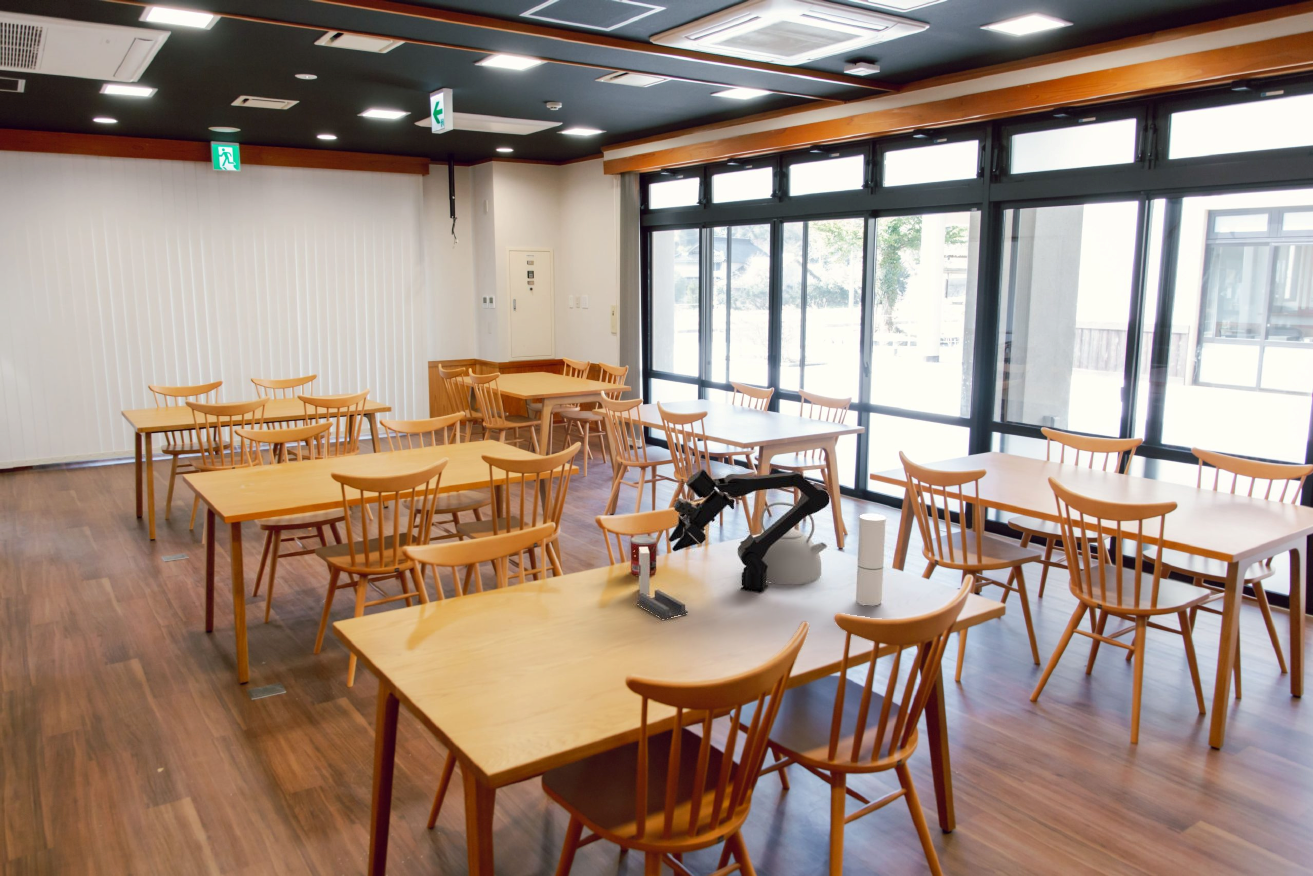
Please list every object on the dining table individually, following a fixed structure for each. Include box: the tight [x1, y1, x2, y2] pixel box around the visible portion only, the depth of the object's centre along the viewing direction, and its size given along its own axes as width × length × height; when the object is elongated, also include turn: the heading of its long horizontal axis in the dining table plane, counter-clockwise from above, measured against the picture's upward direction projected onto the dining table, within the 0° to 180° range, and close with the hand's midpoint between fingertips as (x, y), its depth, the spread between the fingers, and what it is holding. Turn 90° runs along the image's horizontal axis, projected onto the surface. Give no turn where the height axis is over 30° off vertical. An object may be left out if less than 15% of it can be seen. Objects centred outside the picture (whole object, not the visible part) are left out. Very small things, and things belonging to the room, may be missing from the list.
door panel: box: [638, 547, 650, 596], centre depth 262 cm, size 3×6×13 cm, turn 6°
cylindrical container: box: [855, 513, 887, 605], centre depth 254 cm, size 7×7×25 cm
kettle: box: [759, 501, 828, 585], centre depth 279 cm, size 25×23×23 cm
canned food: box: [630, 535, 657, 577], centre depth 280 cm, size 8×8×11 cm
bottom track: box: [636, 589, 689, 620], centre depth 250 cm, size 8×14×3 cm, turn 32°
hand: (671, 545), depth 262 cm, fingers open, 9 cm apart
